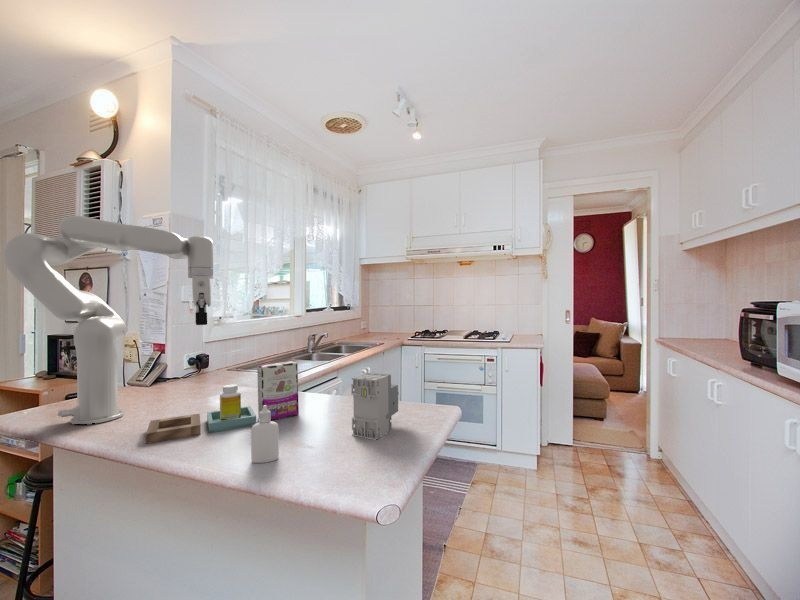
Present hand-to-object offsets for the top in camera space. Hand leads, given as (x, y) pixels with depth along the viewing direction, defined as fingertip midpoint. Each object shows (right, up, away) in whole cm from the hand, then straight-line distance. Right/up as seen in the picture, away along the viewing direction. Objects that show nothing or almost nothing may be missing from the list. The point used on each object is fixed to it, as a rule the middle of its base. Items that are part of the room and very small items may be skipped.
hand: (201, 324), depth 121 cm
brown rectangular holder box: (+5, -28, -23) cm, 37 cm away
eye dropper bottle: (+37, -28, -41) cm, 62 cm away
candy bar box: (+30, -28, -11) cm, 42 cm away
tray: (+18, -28, -16) cm, 37 cm away
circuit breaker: (+61, -27, -23) cm, 71 cm away
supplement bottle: (+17, -28, -16) cm, 36 cm away
